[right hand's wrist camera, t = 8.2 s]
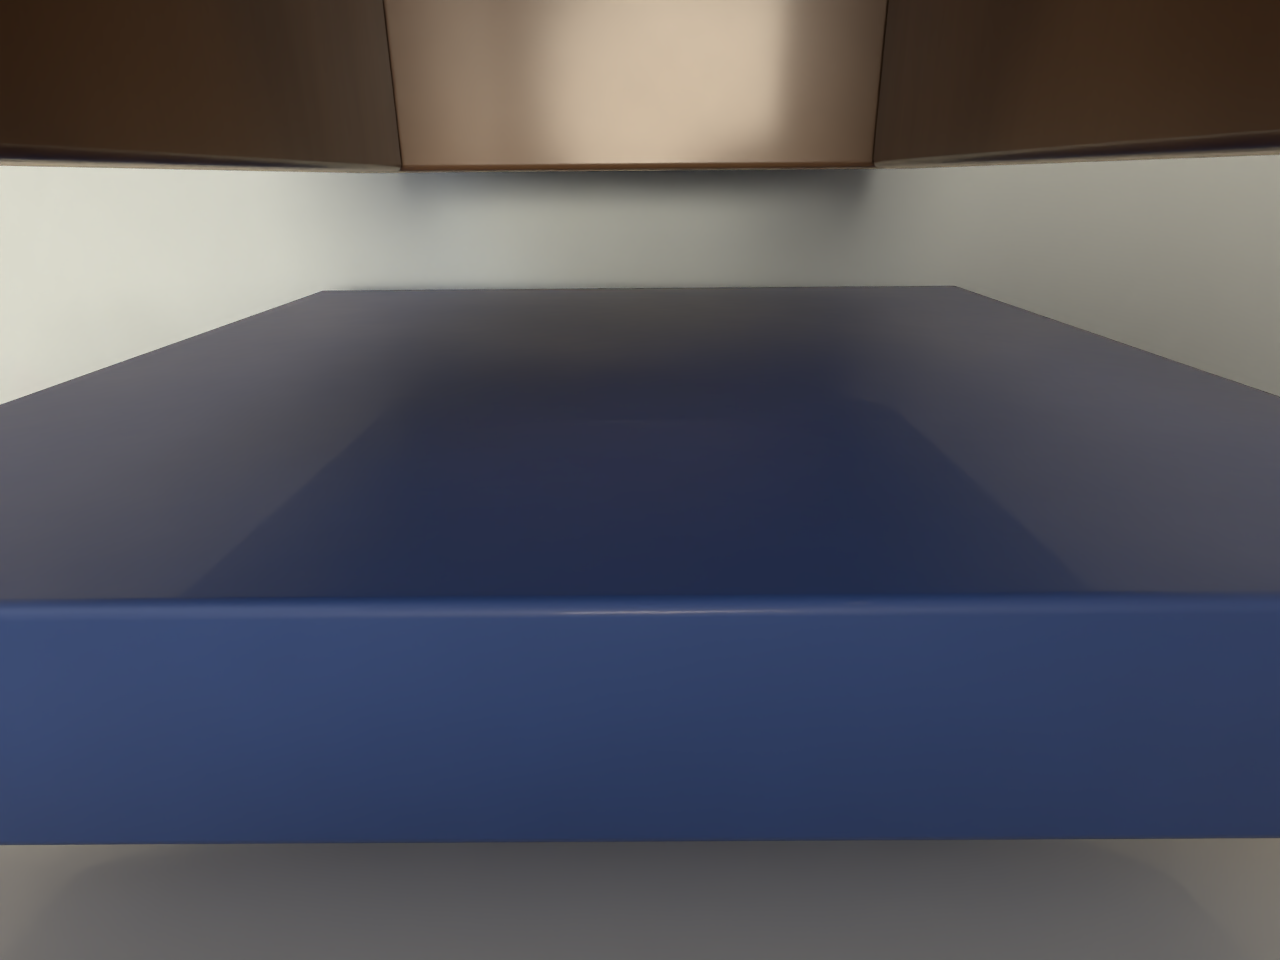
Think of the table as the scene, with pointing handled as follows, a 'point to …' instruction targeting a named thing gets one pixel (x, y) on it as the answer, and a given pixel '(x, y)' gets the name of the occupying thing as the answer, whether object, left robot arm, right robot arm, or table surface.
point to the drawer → (638, 458)
